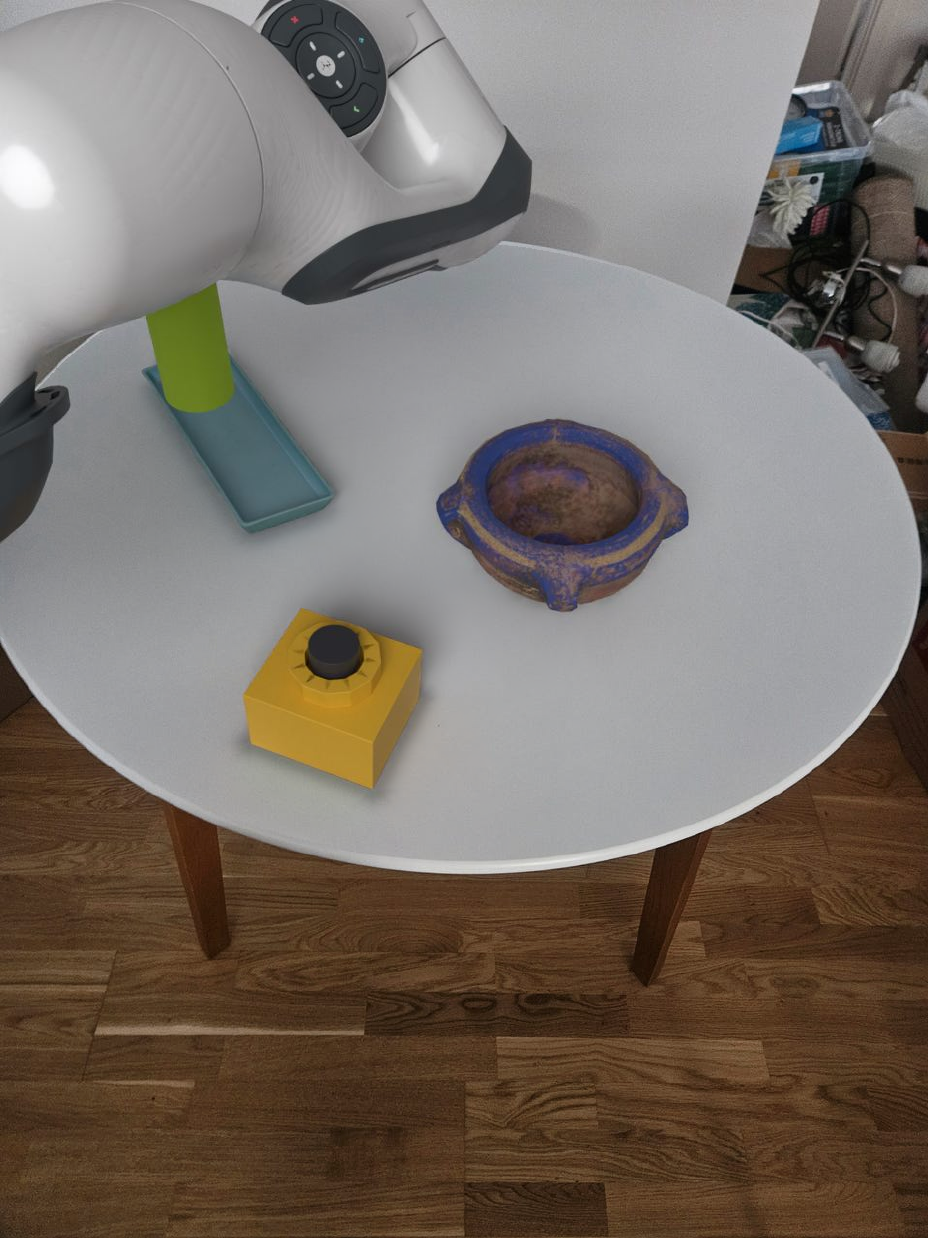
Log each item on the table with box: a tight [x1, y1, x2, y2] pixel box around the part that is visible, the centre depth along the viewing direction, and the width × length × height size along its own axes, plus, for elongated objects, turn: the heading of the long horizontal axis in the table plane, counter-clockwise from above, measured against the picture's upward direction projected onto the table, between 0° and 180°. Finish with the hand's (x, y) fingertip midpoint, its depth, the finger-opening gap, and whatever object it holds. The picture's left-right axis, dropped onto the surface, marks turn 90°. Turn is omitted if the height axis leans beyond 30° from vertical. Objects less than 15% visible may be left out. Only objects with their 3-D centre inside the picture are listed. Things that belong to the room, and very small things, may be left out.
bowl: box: [435, 418, 690, 613], centre depth 84 cm, size 18×18×10 cm
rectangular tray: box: [141, 351, 336, 534], centre depth 94 cm, size 26×9×2 cm, turn 31°
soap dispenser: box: [144, 282, 235, 413], centre depth 76 cm, size 6×7×20 cm
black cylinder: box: [308, 625, 360, 679], centre depth 68 cm, size 4×4×2 cm
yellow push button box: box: [242, 607, 423, 790], centre depth 72 cm, size 10×9×8 cm
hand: (170, 266), depth 75 cm, fingers closed on soap dispenser, 6 cm apart
